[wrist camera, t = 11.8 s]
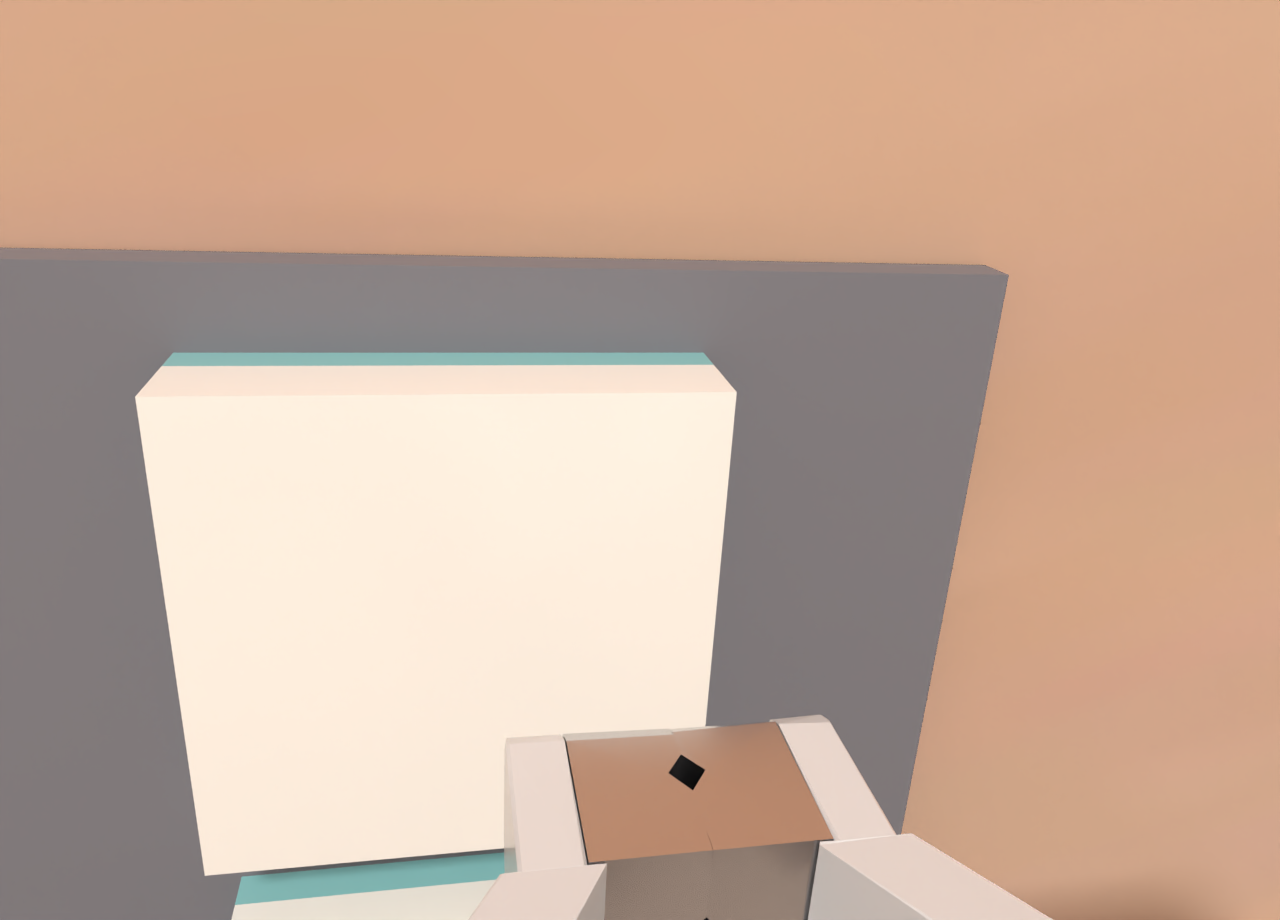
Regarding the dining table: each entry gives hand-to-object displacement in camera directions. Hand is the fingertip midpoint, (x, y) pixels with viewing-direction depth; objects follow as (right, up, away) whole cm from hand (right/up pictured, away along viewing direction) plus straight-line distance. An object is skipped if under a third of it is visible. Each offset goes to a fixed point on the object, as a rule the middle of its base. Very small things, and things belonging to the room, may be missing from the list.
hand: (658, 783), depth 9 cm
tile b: (+1, +1, +3) cm, 4 cm away
